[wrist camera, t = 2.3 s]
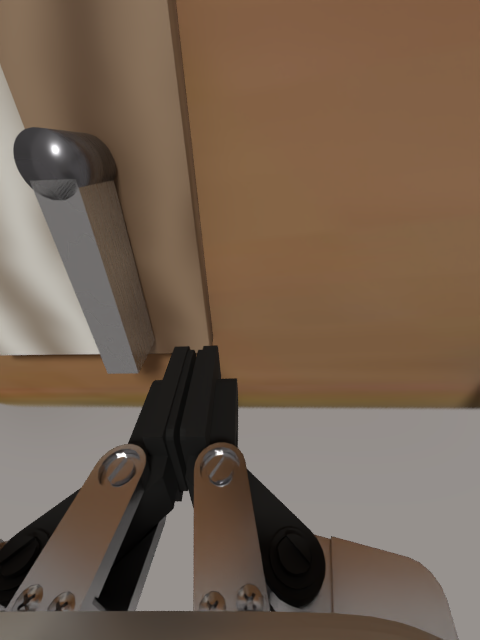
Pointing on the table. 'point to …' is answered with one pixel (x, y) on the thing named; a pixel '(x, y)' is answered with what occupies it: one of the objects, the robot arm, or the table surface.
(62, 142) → the bar
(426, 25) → the table surface
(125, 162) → the door board
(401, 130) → the table surface
